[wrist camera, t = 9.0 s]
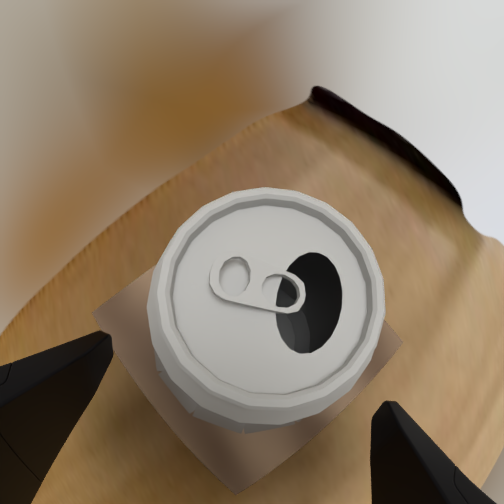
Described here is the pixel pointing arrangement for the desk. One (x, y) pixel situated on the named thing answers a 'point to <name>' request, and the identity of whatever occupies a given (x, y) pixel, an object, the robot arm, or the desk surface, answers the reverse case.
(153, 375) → the collar board
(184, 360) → the can
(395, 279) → the desk surface
